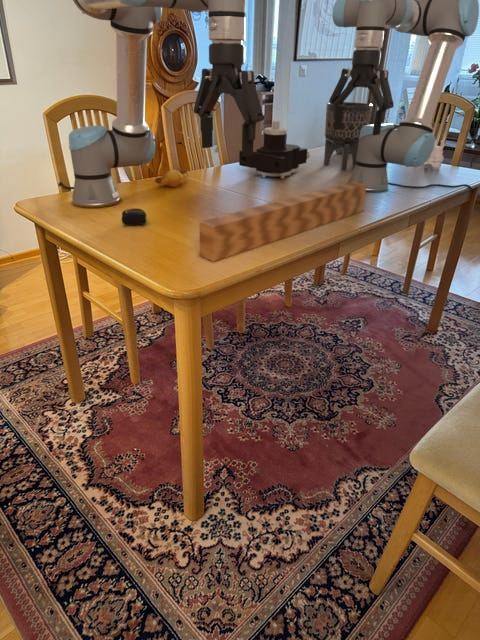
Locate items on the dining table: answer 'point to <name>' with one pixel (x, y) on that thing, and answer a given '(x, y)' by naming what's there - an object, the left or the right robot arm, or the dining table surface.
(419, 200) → the dining table surface
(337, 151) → the rock
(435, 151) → the figurine
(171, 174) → the toy
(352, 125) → the planter
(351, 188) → the beam
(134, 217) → the tape measure
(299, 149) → the mechanical component
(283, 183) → the dining table surface
